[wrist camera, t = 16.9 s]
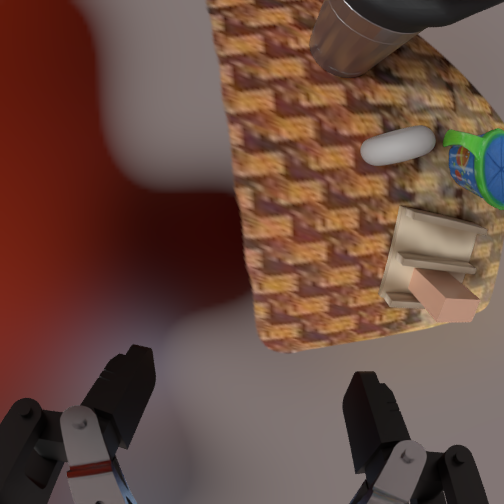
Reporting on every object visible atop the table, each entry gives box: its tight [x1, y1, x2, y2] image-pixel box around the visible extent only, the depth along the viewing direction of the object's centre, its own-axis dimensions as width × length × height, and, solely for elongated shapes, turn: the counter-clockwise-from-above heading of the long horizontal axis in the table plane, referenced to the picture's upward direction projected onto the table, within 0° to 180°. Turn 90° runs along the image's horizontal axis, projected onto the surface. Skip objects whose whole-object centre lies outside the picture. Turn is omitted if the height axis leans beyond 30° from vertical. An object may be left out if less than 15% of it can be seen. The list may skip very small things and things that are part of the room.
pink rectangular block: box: [408, 268, 480, 322], centre depth 34 cm, size 4×7×10 cm, turn 84°
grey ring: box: [361, 125, 436, 166], centre depth 29 cm, size 10×4×10 cm, turn 112°
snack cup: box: [443, 128, 504, 210], centre depth 29 cm, size 16×10×10 cm
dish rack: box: [378, 206, 487, 309], centre depth 37 cm, size 14×16×4 cm
